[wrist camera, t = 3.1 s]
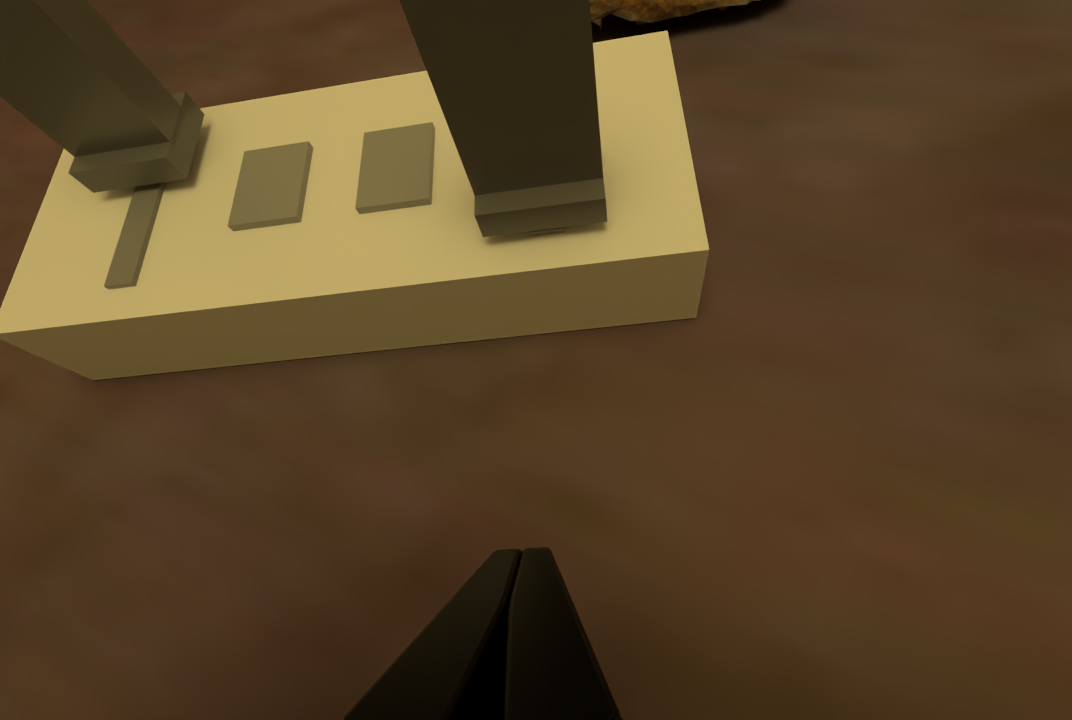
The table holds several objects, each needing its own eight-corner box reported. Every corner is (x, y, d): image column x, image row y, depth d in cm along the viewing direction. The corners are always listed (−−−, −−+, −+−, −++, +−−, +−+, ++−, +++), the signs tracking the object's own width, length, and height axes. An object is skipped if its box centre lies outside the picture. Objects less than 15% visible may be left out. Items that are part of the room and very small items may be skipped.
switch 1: (188, 178, 20) (-102, -109, 12) (92, 193, 20) (-247, -74, 13) (205, 114, 21) (-47, -184, 13) (114, 129, 22) (-181, -150, 14)
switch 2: (609, 221, 16) (582, -142, 9) (481, 237, 17) (346, -93, 9) (600, 141, 18) (570, -241, 10) (481, 158, 18) (363, -193, 10)
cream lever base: (696, 317, 20) (710, 243, 16) (92, 380, 23) (-20, 330, 19) (662, 121, 24) (667, 22, 20) (148, 196, 27) (64, 124, 23)
